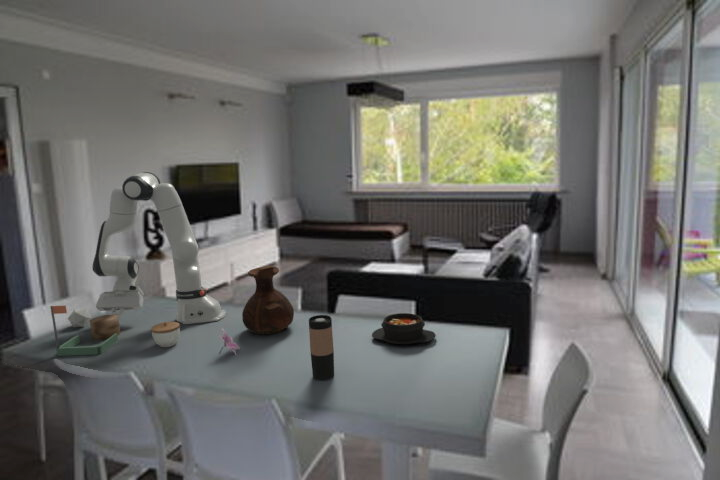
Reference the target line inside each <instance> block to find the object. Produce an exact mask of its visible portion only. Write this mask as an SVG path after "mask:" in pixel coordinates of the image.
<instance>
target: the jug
mask: <svg viewBox="0 0 720 480" xmlns="http://www.w3.org/2000/svg"><path fill="white" fill-rule="evenodd" d="M279 272H280V269H279V267H278V266H275V265H269V266H268V265H267V266H261V267H256V268H253V269H250V270H248V272H247V274H248V276H249V277H251V278H254V281H255V287H256V288H255V292H254V293H253V294H252V295H251V296H250V298H248V300H247V301H246V303H245V305H244V307H243V310H242V313H241V314H242V315H241V316H242V322H243V326H245V328H246V330H249V331H250V332H252V333H253V334H257V335H271V334H276V333H280V332H281V331H283V330H284V329H286V328H288V327H289V326H290V325H291V324H292V322H293V320H294V315H295V314H294V313H295V311H294V307H293V305H292V303H291V302H290V300H289V299H288V297H287V296H286V295H285V294H284V293H282V292H281V291H280V290H278V289H276V288H275V287H274V281H273V279H274V276H276V275H277V274H278V273H279Z"/></svg>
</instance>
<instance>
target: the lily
mask: <svg viewBox="0 0 720 480" xmlns="http://www.w3.org/2000/svg"><path fill="white" fill-rule="evenodd" d="M221 329H222V332H223V333H222V334H223V335H222V334H219V335H218V337H220V339H221V340H223V342H224V344H223V346H222V347H221V349H220V351H219V352H218V354H220V353H221V352H222V350H223V349H224V348H225V347H226V349H227V350H229V349H230V350H232V352H233V353H234V354H235V356H237V352H236V350H237V349H238V350H241V348H240V346H239V345H238V344H237V343H236V342H235V341H233V338H232V336H230V335H228V332H227V331H226V330H225V329H224V328H223V327H221ZM235 349H236V350H235Z"/></svg>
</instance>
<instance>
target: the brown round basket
mask: <svg viewBox="0 0 720 480" xmlns="http://www.w3.org/2000/svg"><path fill="white" fill-rule="evenodd" d="M89 324H90V331H91V338H92V340H95V341H103V340H104V341H106V340H107V339H108V338H110V337H111V336H112V335H114V334H117V335H118V336H119V335H120V334H121V326H120V318H118V316H117V315H113V314H106V315H99V316H97V317H96V316H95V317H94V318H93V317H92V318H91V319H90V321H89Z"/></svg>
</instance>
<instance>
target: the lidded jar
mask: <svg viewBox="0 0 720 480" xmlns="http://www.w3.org/2000/svg"><path fill="white" fill-rule="evenodd" d="M180 326H181V325H180V322H178V321H164V322H159V323H156V324H155V325H153V326H152V327H150V328H151V329H150V330H151V335H152V339H153V341H154V342H155V344H156V345H158V346H159V348H168V347H169V348H170V347H172V346H175V345H176V343H177V342H178V340H179V338H180V334H181V333H180V332H181V330H180V329H181V328H180Z"/></svg>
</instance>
